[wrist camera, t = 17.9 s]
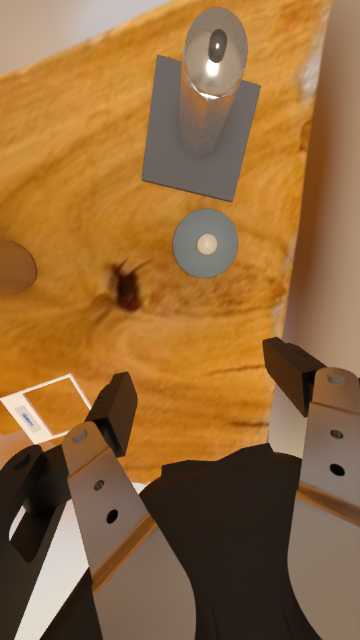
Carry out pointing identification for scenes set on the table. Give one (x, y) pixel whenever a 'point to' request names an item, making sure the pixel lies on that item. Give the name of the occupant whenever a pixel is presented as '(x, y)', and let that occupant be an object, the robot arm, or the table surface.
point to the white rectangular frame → (29, 415)
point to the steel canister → (209, 78)
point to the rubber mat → (165, 147)
